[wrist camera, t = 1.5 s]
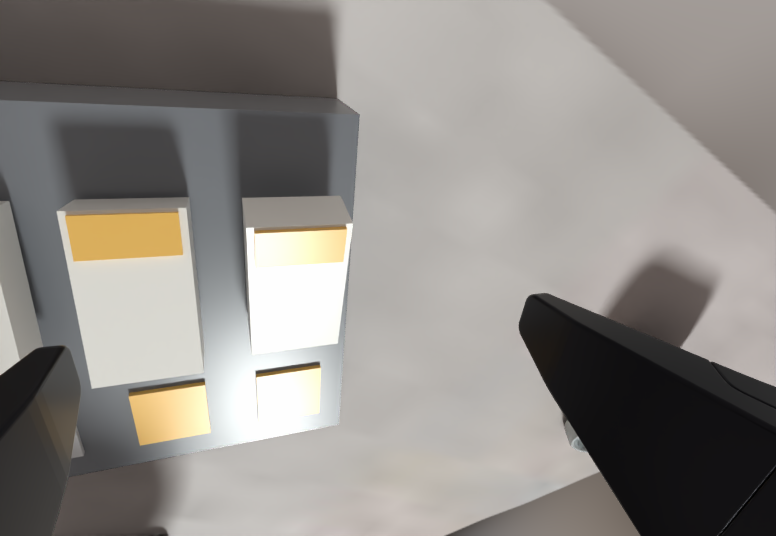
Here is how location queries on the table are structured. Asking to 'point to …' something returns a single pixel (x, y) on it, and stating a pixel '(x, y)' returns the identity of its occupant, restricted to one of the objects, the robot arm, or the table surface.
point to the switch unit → (211, 244)
